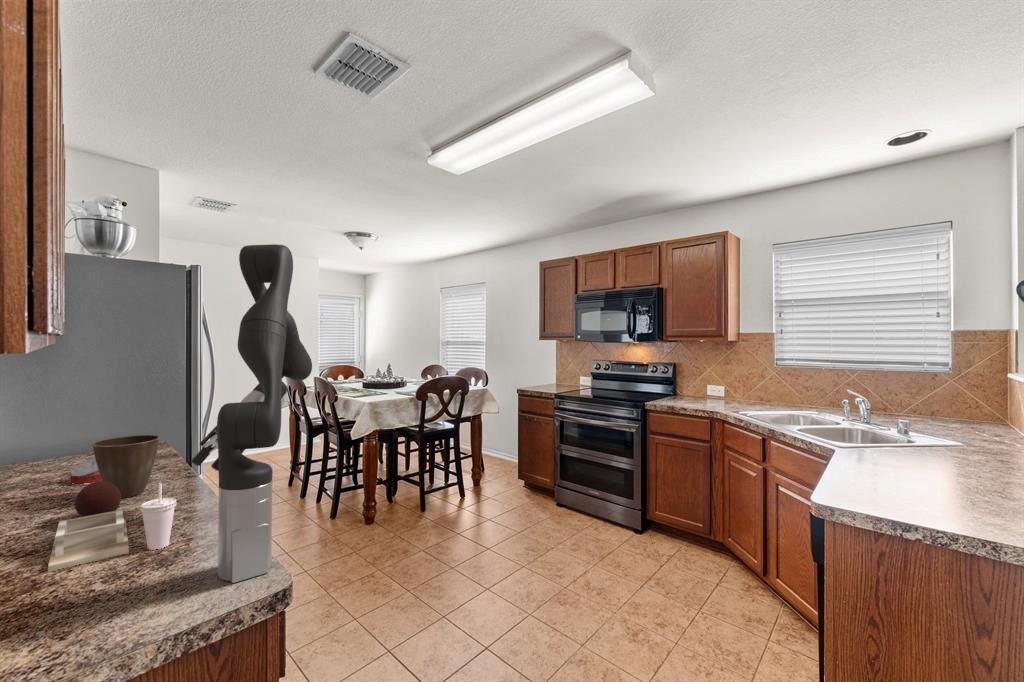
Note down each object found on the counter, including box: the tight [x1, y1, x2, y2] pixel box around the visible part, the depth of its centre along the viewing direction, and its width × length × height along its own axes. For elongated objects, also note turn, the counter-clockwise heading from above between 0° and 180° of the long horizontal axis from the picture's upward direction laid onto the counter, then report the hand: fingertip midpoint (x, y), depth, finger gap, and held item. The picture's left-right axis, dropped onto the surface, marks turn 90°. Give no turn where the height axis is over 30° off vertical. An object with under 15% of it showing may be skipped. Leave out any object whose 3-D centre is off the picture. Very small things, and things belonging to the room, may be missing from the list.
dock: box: [47, 509, 130, 573], centre depth 99 cm, size 20×12×5 cm, turn 42°
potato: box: [74, 481, 122, 517], centre depth 115 cm, size 9×12×9 cm
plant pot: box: [92, 434, 161, 499], centre depth 132 cm, size 15×15×16 cm
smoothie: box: [139, 482, 178, 551], centre depth 99 cm, size 6×6×14 cm
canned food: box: [69, 455, 102, 484], centre depth 146 cm, size 11×10×10 cm
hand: (204, 466), depth 108 cm, fingers open, 8 cm apart
